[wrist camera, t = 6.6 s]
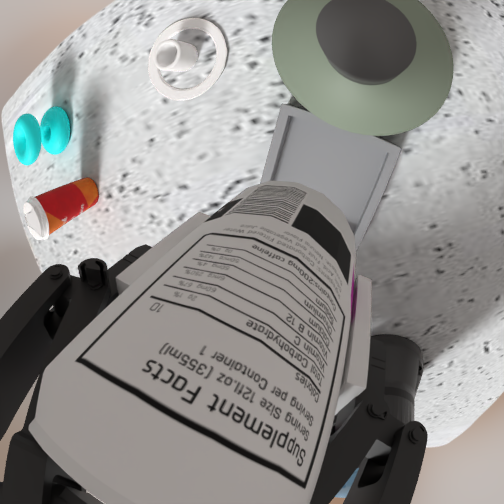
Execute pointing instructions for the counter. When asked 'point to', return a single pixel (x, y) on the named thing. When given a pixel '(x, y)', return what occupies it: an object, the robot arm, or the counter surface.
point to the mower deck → (353, 95)
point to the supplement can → (213, 362)
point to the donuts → (41, 134)
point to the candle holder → (184, 58)
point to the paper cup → (59, 206)
